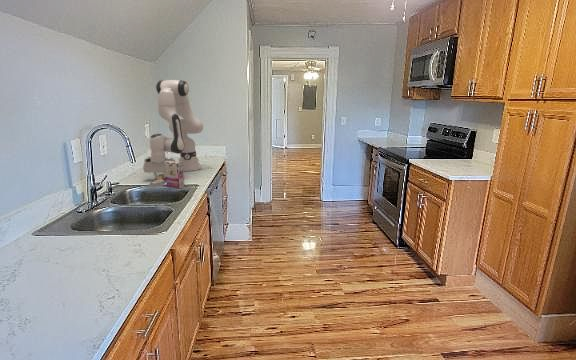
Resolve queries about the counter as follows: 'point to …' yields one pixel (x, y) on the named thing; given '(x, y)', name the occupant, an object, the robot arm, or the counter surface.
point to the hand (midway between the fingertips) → (160, 178)
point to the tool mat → (157, 184)
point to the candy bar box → (174, 174)
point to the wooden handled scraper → (159, 179)
